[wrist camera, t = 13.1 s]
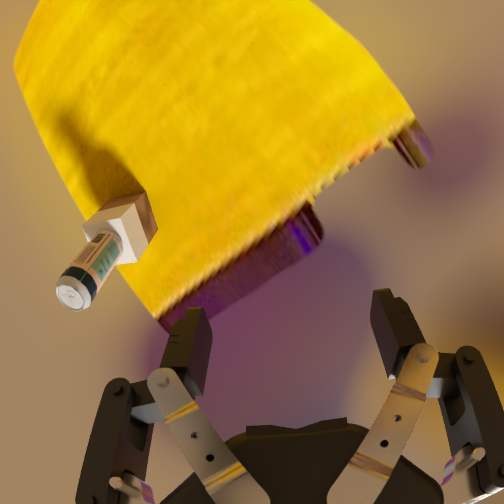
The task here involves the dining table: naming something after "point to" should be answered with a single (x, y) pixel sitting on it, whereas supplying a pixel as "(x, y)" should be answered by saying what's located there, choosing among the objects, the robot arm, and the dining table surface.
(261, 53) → the dining table surface
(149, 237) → the tower base
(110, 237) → the beer can
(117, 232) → the tower top
